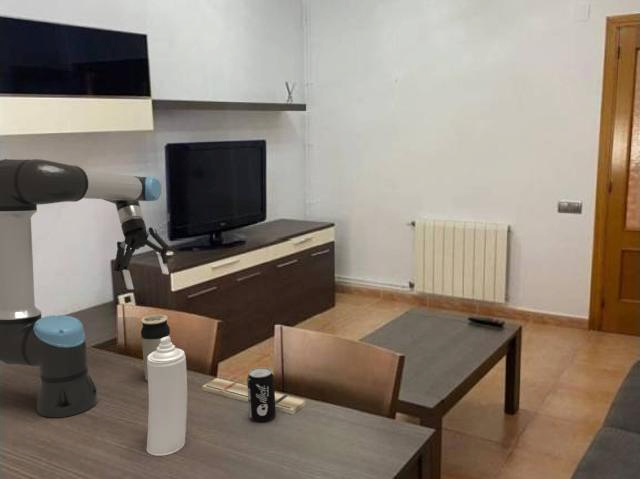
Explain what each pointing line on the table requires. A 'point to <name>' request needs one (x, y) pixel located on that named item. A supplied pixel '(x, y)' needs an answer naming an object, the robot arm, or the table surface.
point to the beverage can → (261, 394)
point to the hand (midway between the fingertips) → (148, 281)
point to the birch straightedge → (241, 393)
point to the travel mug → (153, 335)
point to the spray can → (166, 399)
